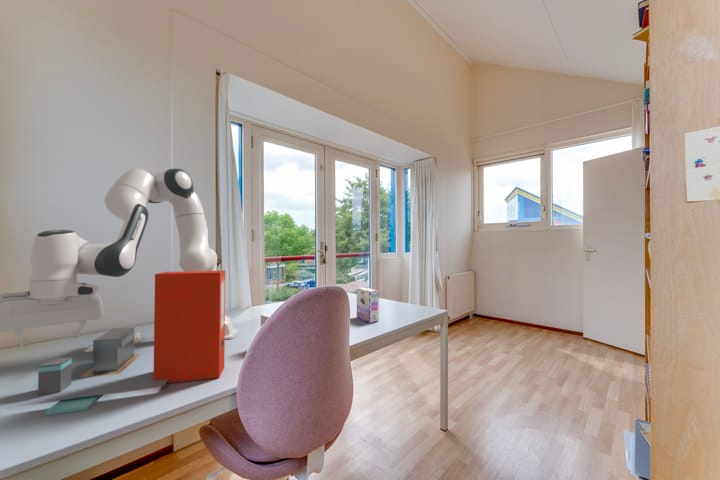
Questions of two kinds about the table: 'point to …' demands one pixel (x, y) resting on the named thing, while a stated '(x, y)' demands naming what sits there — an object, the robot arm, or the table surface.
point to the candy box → (367, 304)
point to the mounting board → (90, 372)
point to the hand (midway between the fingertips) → (51, 341)
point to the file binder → (189, 325)
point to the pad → (73, 404)
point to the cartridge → (54, 375)
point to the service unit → (113, 350)
